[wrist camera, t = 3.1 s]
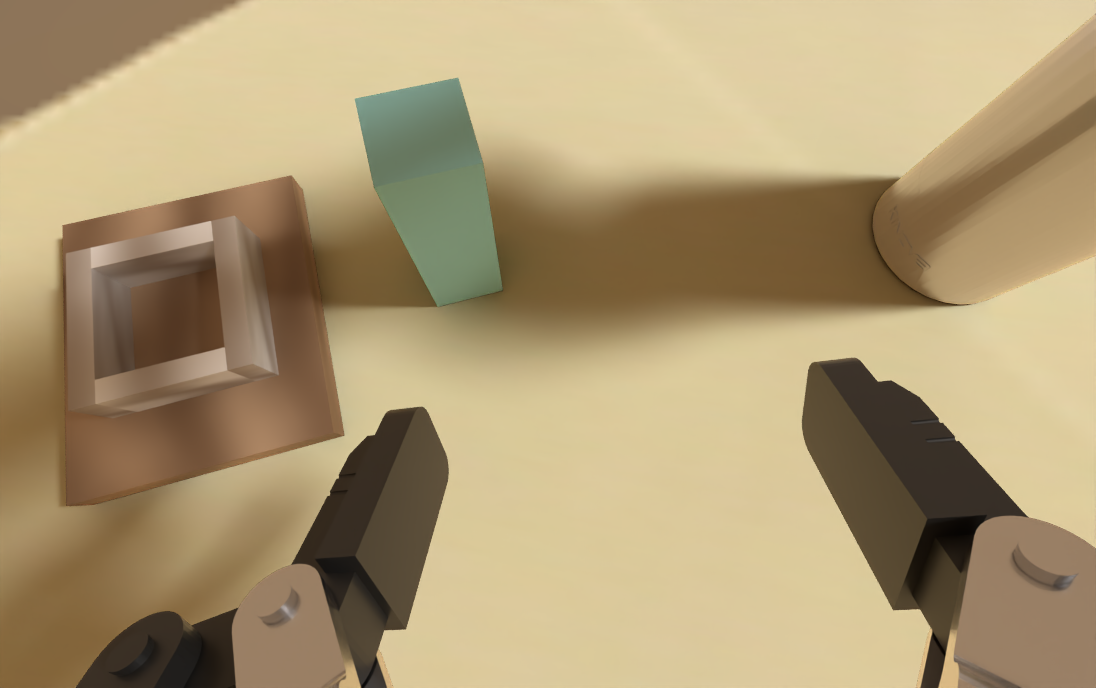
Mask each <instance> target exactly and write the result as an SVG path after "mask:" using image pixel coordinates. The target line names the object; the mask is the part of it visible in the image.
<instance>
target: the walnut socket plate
mask: <svg viewBox="0 0 1096 688" xmlns="http://www.w3.org/2000/svg"><path fill="white" fill-rule="evenodd" d="M63 292H64V365H65V438H66V506H78V505H94V504H98V503H102V502H105V501H109V500H113V499H116V498H120V497H123V496H127V495H131V494H134V493H138V492H142V491H145V490H149V489H152V488H156V487H160V486H163V485H167V484H171V483H174V482H178V481H181V480H185V479H189V478H192V477H196V476H199V475H203V474H207V473H210V472H214V471H218V470H221V469H225V468H228V467H232V466H236V465H239V464H243V463H247V462H250V461H254V460H257V459H261V458H265V457H268V456H272V455H275V454H279V453H283V452H286V451H290V450H294V449H297V448H301V447H304V446H308V445H312V444H315V443H319V442H323V441H326V440H330V439H333V438H337V437H341V436H344V430H343V424H342V418H341V412H340V406H339V400H338V395H337V389H336V383H335V377H334V371H333V365H332V359H331V353H330V348H329V342H328V336H327V330H326V324H325V318H324V312H323V306H322V300H321V295H320V289H319V283H318V277H317V271H316V265H315V259H314V253H313V248H312V242H311V236H310V230H309V224H308V218H307V212H306V206H305V201H304V195H303V190H302V188H301V187H300V186H299V185H298V183H297V182H296V181H295V179H294V178H293V177H292V176H287V177H282V178H278V179H273V180H268V181H264V182H259V183H255V184H250V185H245V186H241V187H236V188H232V189H227V190H222V191H218V192H213V193H209V194H204V195H200V196H195V197H190V198H186V199H181V200H177V201H172V202H167V203H163V204H158V205H154V206H149V207H144V208H140V209H135V210H131V211H126V212H122V213H117V214H112V215H108V216H103V217H99V218H94V219H89V220H85V221H80V222H76V223H71V224H67V225H63Z"/></svg>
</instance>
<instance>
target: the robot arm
mask: <svg viewBox="0 0 1096 688" xmlns="http://www.w3.org/2000/svg"><path fill="white" fill-rule="evenodd" d="M873 232H874V238H875V242H876V244H877V247H878V249H879V252H880V254H881V256H882V257H883V259H884V260H885V262H886V263H887V265H888V267H889V268H890V269H891V270H892V271H893V272H894V273H895V274H896V275H897V276H898V277H899V279H901V280H902V281H903V282H904V283H906V284H907V285H908V286H910V287H911V288H912V289H914V290H916V291H918V292H919V293H921V294H923V295H925V296H927V297H929V298H932V299H935V300H938V301H942V302H945V303H953V304H975V303H979V302H982V301H985V300H989V299H991V298H994V297H996V296H998V295H1001V294H1003V293H1006V292H1008V291H1011V290H1013V289H1015V288H1018V287H1020V286H1023V285H1025V284H1028V283H1030V282H1032V281H1035V280H1037V279H1040V278H1042V277H1045V276H1047V275H1050V274H1053V273H1055V272H1057V271H1060V270H1062V269H1065V268H1067V267H1070V266H1072V265H1074V264H1077V263H1079V262H1082V261H1084V260H1087V259H1089V258H1091V257H1094V256H1096V14H1095V15H1094V16H1093V17H1091V18H1090V19H1089V20H1088V21H1087V22H1085V23H1084V24H1083V25H1082V26H1081V27H1079V28H1078V29H1077V30H1076V31H1075V32H1074V33H1072V34H1071V35H1070V36H1069V37H1068V38H1066V39H1065V40H1064V41H1063V42H1062V43H1060V44H1059V45H1058V46H1057V47H1056V48H1055V49H1053V50H1052V51H1051V52H1050V53H1049V54H1047V55H1046V56H1045V57H1044V58H1043V59H1041V60H1040V61H1039V62H1038V63H1037V64H1036V65H1034V66H1033V67H1032V68H1031V69H1030V70H1028V71H1027V72H1026V73H1025V74H1024V75H1022V76H1021V77H1020V78H1019V79H1018V80H1016V81H1015V82H1014V83H1013V84H1012V85H1011V86H1009V87H1008V88H1007V89H1006V90H1005V91H1003V92H1002V93H1001V94H1000V95H999V96H997V97H996V98H995V99H994V100H993V101H992V102H990V103H989V104H988V105H987V106H986V107H984V108H983V109H982V110H981V111H980V112H978V113H977V114H976V115H975V116H974V117H973V118H971V119H970V120H969V121H968V122H967V123H965V124H964V125H963V126H962V127H961V128H959V129H958V130H957V131H956V132H955V133H954V134H952V135H951V136H950V137H949V138H948V139H946V140H945V141H944V142H943V143H942V144H940V145H939V146H938V147H937V148H935V149H934V150H933V151H932V152H931V153H929V154H928V155H927V156H926V157H925V158H924V159H922V160H921V161H920V162H919V163H918V164H917V165H915V166H914V167H913V168H912V169H911V170H910V171H908V172H907V173H906V174H905V175H904V176H903V177H901V178H900V179H899V180H898V181H897V182H895V183H894V184H893V185H892V186H891V187H890V188H888V189H887V190H886V191H885V192H884V193H883V195H882V196H881V198H880V199H879V201H878V202H877V205H876V208H875V211H874V214H873ZM802 430H803V436H804V440H805V443H806V446H807V449H808V451H809V453H810V455H811V457H812V459H813V460H814V462H815V464H816V466H817V468H818V470H819V472H820V474H821V475H822V477H823V479H824V481H825V483H826V485H827V487H828V489H829V490H830V492H831V494H832V496H833V498H834V500H835V502H836V504H837V505H838V507H839V509H840V511H841V513H842V515H843V517H844V519H845V521H846V522H847V524H848V526H849V528H850V530H851V532H852V534H853V536H854V537H855V539H856V541H857V543H858V545H859V547H860V549H861V551H862V552H863V554H864V556H865V558H866V560H867V562H868V564H869V566H870V567H871V569H872V571H873V573H874V575H875V577H876V579H877V581H878V582H879V584H880V586H881V588H882V590H883V592H884V594H885V596H886V597H887V599H888V601H889V603H890V605H891V607H892V609H893V610H909V609H920V610H921V611H922V613H923V615H924V617H925V618H926V620H927V622H928V624H929V625H930V627H931V628H930V630H929V632H928V635H927V639H926V644H925V648H924V653H923V657H922V662H921V667H920V671H919V676H918V680H917V685H916V688H1096V548H1094V547H1093V546H1092V545H1090V544H1089V543H1087V542H1086V541H1085V540H1083V539H1081V538H1080V537H1078V536H1076V535H1074V534H1073V533H1071V532H1069V531H1067V530H1065V529H1062V528H1060V527H1058V526H1055V525H1053V524H1050V523H1048V522H1044V521H1041V520H1037V519H1033V518H1029V517H1028V516H1027V515H1026V514H1025V513H1024V512H1023V511H1022V510H1021V509H1020V508H1019V507H1018V506H1017V505H1016V504H1015V503H1014V501H1013V500H1012V499H1011V498H1010V497H1009V496H1008V495H1007V494H1006V493H1005V491H1004V490H1003V489H1002V488H1001V487H1000V486H999V485H998V484H997V483H996V481H995V480H994V479H993V478H992V477H991V476H990V475H989V474H988V473H987V472H986V470H985V469H984V468H983V467H982V466H981V465H980V464H979V463H978V462H977V460H976V459H975V458H974V457H973V456H972V455H971V454H970V453H969V452H968V450H967V449H966V448H965V447H964V446H963V445H962V444H961V443H960V442H959V441H956V440H955V436H954V435H953V434H952V433H951V432H950V430H949V429H948V428H947V427H946V426H945V425H944V424H943V423H940V422H939V418H938V417H937V416H936V415H935V414H934V413H933V412H932V411H931V409H930V408H929V407H928V406H927V405H926V404H925V403H924V402H923V401H922V399H921V398H920V397H918V396H917V395H915V394H913V393H911V392H910V391H908V390H906V389H905V388H903V387H901V386H900V385H898V384H896V383H895V382H893V381H882V382H877V380H876V379H875V378H874V377H873V375H872V374H871V373H870V372H869V371H868V369H867V368H866V367H865V366H864V365H863V363H862V362H861V361H860V360H858V359H857V358H846V359H838V360H829V361H820V362H813V363H812V364H811V365H810V367H809V370H808V377H807V385H806V393H805V401H804V408H803V416H802ZM448 474H449V468H448V460H447V456H446V453H445V451H444V448H443V446H442V444H441V441H440V439H439V437H438V435H437V432H436V430H435V428H434V425H433V423H432V421H431V418H430V416H429V414H428V412H427V410H426V409H425V408H424V407H414V408H406V409H397V410H390V411H388V412H387V413H386V414H385V415H384V417H383V419H382V421H381V423H380V425H379V428H378V430H377V432H376V434H375V435H372V436H367V437H366V438H365V439H364V440H363V441H362V442H361V443H360V444H359V445H358V446H357V447H356V448H355V449H354V450H353V451H352V453H351V454H350V455H349V456H348V458H347V460H346V462H345V464H344V466H343V468H342V470H341V472H340V474H339V479H336V481H335V483H334V485H333V487H332V489H331V491H330V496H327V498H326V500H325V502H324V504H323V506H322V508H321V510H320V512H319V514H318V515H317V517H316V519H315V521H314V523H313V525H312V527H311V529H310V531H309V533H308V535H307V536H306V538H305V540H304V542H303V544H302V546H301V548H300V550H299V552H298V554H297V555H296V557H295V559H294V561H293V563H292V564H291V565H290V566H286V567H284V568H281V569H279V570H277V571H275V572H273V573H272V574H270V575H269V576H267V577H266V578H264V579H263V580H262V581H261V582H259V583H258V584H257V585H256V586H255V587H254V588H253V589H252V590H251V591H250V592H249V594H248V595H247V596H246V597H245V599H244V600H243V601H242V603H241V604H240V606H239V608H237V609H234V610H231V611H229V612H226V613H223V614H221V615H218V616H215V617H213V618H210V619H207V620H205V621H202V622H199V623H197V624H194V625H192V626H191V625H190V624H189V623H188V622H186V621H185V620H184V619H183V618H182V617H181V616H180V615H178V614H176V613H175V612H170V611H165V612H159V613H155V614H152V615H149V616H147V617H145V618H143V619H141V620H139V621H138V622H136V623H134V624H133V625H131V626H130V627H128V628H127V629H125V630H124V631H123V632H122V633H120V634H119V635H118V636H117V637H116V638H115V639H114V640H113V641H111V642H110V643H109V644H108V645H107V647H106V648H105V649H104V650H103V651H102V652H101V653H100V655H99V656H98V657H97V658H96V660H95V661H94V662H93V664H92V665H91V667H90V668H89V669H88V671H87V672H86V674H85V675H84V677H83V678H82V679H81V681H80V682H79V684H78V685H77V686H76V688H393V685H392V682H391V679H390V677H389V674H388V671H387V668H386V665H385V662H384V659H383V656H382V654H381V652H380V650H379V649H378V648H379V645H380V641H381V638H382V635H383V632H384V630H402V629H406V627H407V624H408V620H409V617H410V613H411V610H412V606H413V602H414V599H415V595H416V592H417V588H418V585H419V581H420V578H421V574H422V571H423V567H424V564H425V560H426V556H427V553H428V549H429V546H430V542H431V539H432V535H433V532H434V528H435V525H436V521H437V518H438V514H439V510H440V507H441V503H442V500H443V496H444V493H445V489H446V486H447V482H448Z"/></svg>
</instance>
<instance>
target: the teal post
mask: <svg viewBox="0 0 1096 688" xmlns="http://www.w3.org/2000/svg"><path fill="white" fill-rule="evenodd" d="M355 102H356V107H357V111H358V116H359V121H360V125H361V130H362V135H363V139H364V144H365V148H366V153H367V158H368V162H369V167H370V171H371V176H372V181H373V185H374V188H375V190H376V192H377V194H378V196H379V198H380V200H381V201H382V203H383V205H384V207H385V209H386V211H387V213H388V215H389V217H390V218H391V220H392V222H393V224H394V226H395V228H396V230H397V232H398V233H399V235H400V237H401V239H402V241H403V243H404V245H405V247H406V248H407V250H408V252H409V254H410V256H411V258H412V260H413V262H414V263H415V265H416V267H417V269H418V271H419V273H420V275H421V277H422V278H423V280H424V282H425V284H426V286H427V288H428V290H429V292H430V293H431V295H432V297H433V299H434V301H435V303H436V305H437V307H439V306H443V305H447V304H451V303H455V302H459V301H463V300H467V299H471V298H475V297H479V296H483V295H487V294H491V293H495V292H499V291H502V290H503V288H502V281H501V275H500V269H499V262H498V256H497V249H496V243H495V236H494V230H493V224H492V217H491V211H490V204H489V198H488V191H487V185H486V179H485V172H484V166H483V161H482V158H481V154H480V151H479V147H478V144H477V140H476V137H475V134H474V130H473V127H472V123H471V120H470V116H469V113H468V110H467V106H466V103H465V99H464V96H463V93H462V89H461V86H460V82H459V79H458V78H454V79H449V80H445V81H440V82H435V83H430V84H425V85H420V86H415V87H410V88H405V89H400V90H396V91H391V92H386V93H381V94H376V95H371V96H366V97H361V98H356V99H355Z"/></svg>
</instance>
